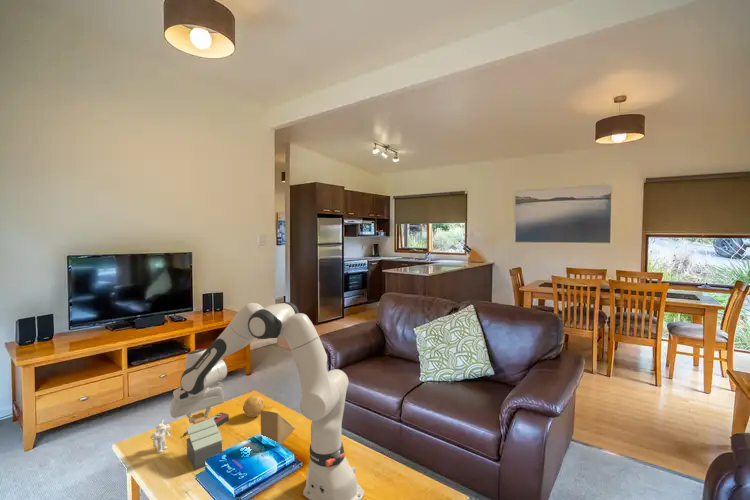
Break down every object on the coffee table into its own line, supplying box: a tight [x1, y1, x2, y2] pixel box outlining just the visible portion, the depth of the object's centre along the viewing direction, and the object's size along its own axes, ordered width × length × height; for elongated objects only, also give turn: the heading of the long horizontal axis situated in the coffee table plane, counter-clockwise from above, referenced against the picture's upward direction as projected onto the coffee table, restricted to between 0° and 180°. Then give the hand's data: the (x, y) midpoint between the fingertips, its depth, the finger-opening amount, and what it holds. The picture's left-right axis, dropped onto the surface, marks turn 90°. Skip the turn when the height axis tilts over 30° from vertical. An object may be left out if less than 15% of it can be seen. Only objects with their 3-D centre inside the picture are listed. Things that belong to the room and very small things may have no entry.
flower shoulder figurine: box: [150, 418, 172, 454], centre depth 146 cm, size 9×4×12 cm, turn 169°
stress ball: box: [242, 395, 266, 418], centre depth 173 cm, size 10×10×10 cm
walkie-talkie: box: [183, 411, 230, 436], centre depth 163 cm, size 9×4×20 cm
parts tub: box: [186, 437, 223, 471], centre depth 141 cm, size 12×10×7 cm
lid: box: [185, 411, 223, 452], centre depth 143 cm, size 16×10×3 cm, turn 42°
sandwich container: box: [260, 410, 296, 445], centre depth 156 cm, size 9×15×15 cm, turn 163°
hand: (198, 420), depth 147 cm, fingers closed on lid, 4 cm apart
